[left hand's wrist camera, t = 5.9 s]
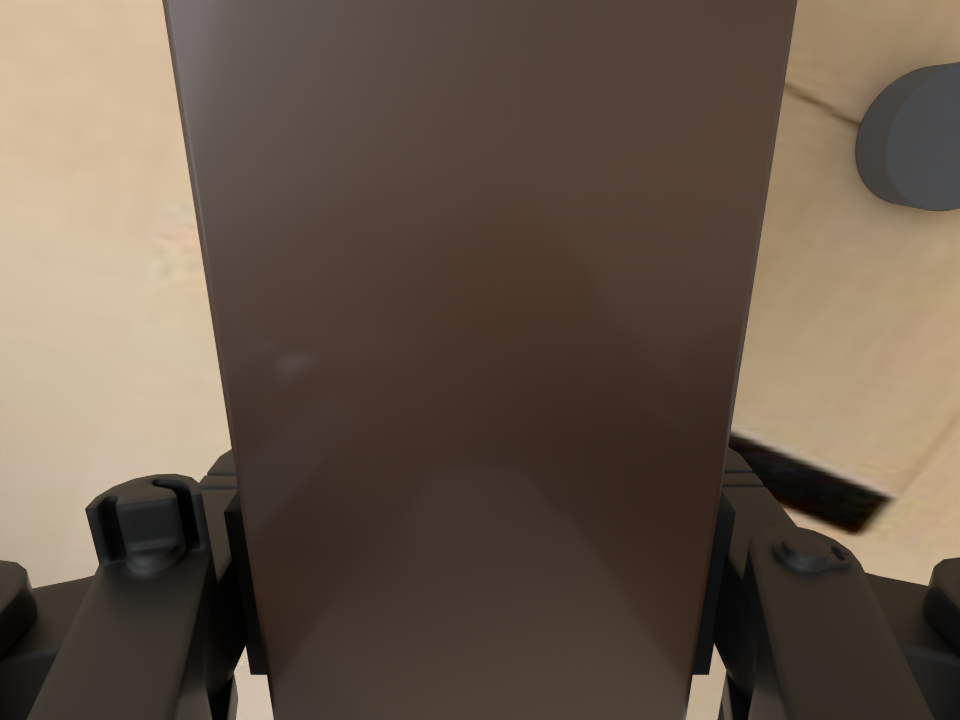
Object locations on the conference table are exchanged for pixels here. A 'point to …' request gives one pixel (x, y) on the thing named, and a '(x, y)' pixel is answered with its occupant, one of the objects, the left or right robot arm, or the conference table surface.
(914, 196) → the puck
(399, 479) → the bar
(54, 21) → the conference table surface
